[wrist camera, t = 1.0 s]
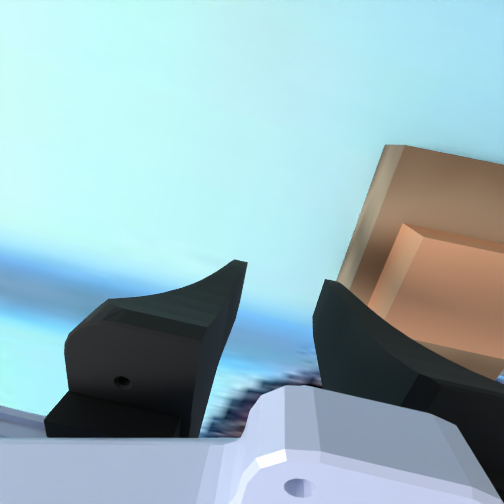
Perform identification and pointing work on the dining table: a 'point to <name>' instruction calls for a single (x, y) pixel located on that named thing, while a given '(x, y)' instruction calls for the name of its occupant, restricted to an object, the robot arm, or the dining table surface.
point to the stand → (425, 220)
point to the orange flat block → (444, 290)
